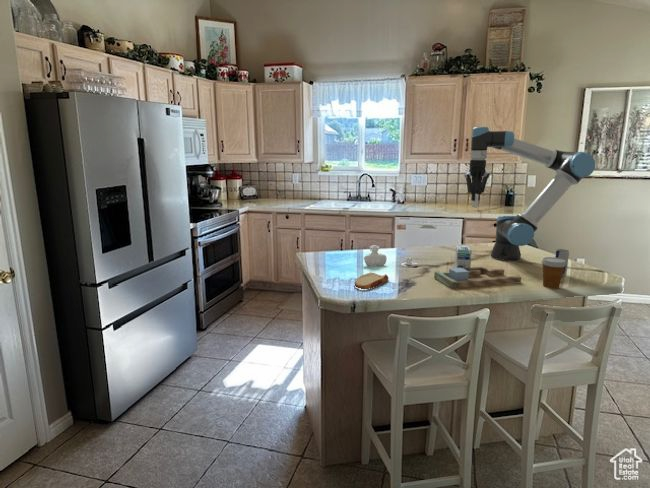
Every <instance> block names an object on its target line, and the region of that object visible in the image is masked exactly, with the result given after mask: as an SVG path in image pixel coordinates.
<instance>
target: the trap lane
mask: <svg viewBox="0 0 650 488" xmlns="http://www.w3.org/2000/svg"><path fill="white" fill-rule="evenodd" d="M463 269H465V270H467V271H469V275H468V278H473V277H475V278H476V277H481V274H484V275H486V276H488V278H477V279H468V280H464V281H455V280H453V279H451V278H450V277H449V271H439V270H438V271H437V270H436V271H434V277H433V279H436V280H437V281H439V282H441V283H442V284H444V285H446V286H447V287H448V288H450V289H462V288H464V289H465V288H474V287H484V286H485V287H486V285H487V286H495V285H496V286H498V285H507V284H508V283H509V284H517V283H521V282H522V276H520V275H512V276H504V275H505V269H503V268H495V269H494V268H493V269H492V268H491V269H489V268H487V267H483V266H477V267H475V266H474V267H470V268H463ZM494 276H496V277H494ZM497 276H499V277H497ZM500 276H501V277H500ZM489 277H490V278H489Z"/></svg>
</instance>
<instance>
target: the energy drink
mask: <svg viewBox="0 0 650 488" xmlns="http://www.w3.org/2000/svg"><path fill="white" fill-rule="evenodd" d="M569 257H570V252H569V250H568V249H562V248H558V249H556V251H555V258H560V259H564V260H565V262H566V265H565V267H564V271H563V275H562V278H563V277H567V271H568V265H569Z"/></svg>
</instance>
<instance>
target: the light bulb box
mask: <svg viewBox="0 0 650 488" xmlns="http://www.w3.org/2000/svg"><path fill="white" fill-rule="evenodd" d="M472 252H473V251H472V249H471V247H470V245H462V244H455V260H454V268H472V267H471V265H472Z"/></svg>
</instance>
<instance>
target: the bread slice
mask: <svg viewBox="0 0 650 488" xmlns="http://www.w3.org/2000/svg"><path fill="white" fill-rule="evenodd" d="M388 279H389V276H388V275H387V274H383V275H380V274H377V273H375V272H369V273H365V274H362V275H360V276H359V277H357V278H356V280H355V282H354V284H355V286H356V287H358V288H361V289H369V288H373V287H375V288H377V287H379V285H380V286H381V284H382V285H383V284H385V282H387V281H388ZM355 286H354V287H355ZM376 286H377V287H376ZM373 289H374V288H373Z"/></svg>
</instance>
